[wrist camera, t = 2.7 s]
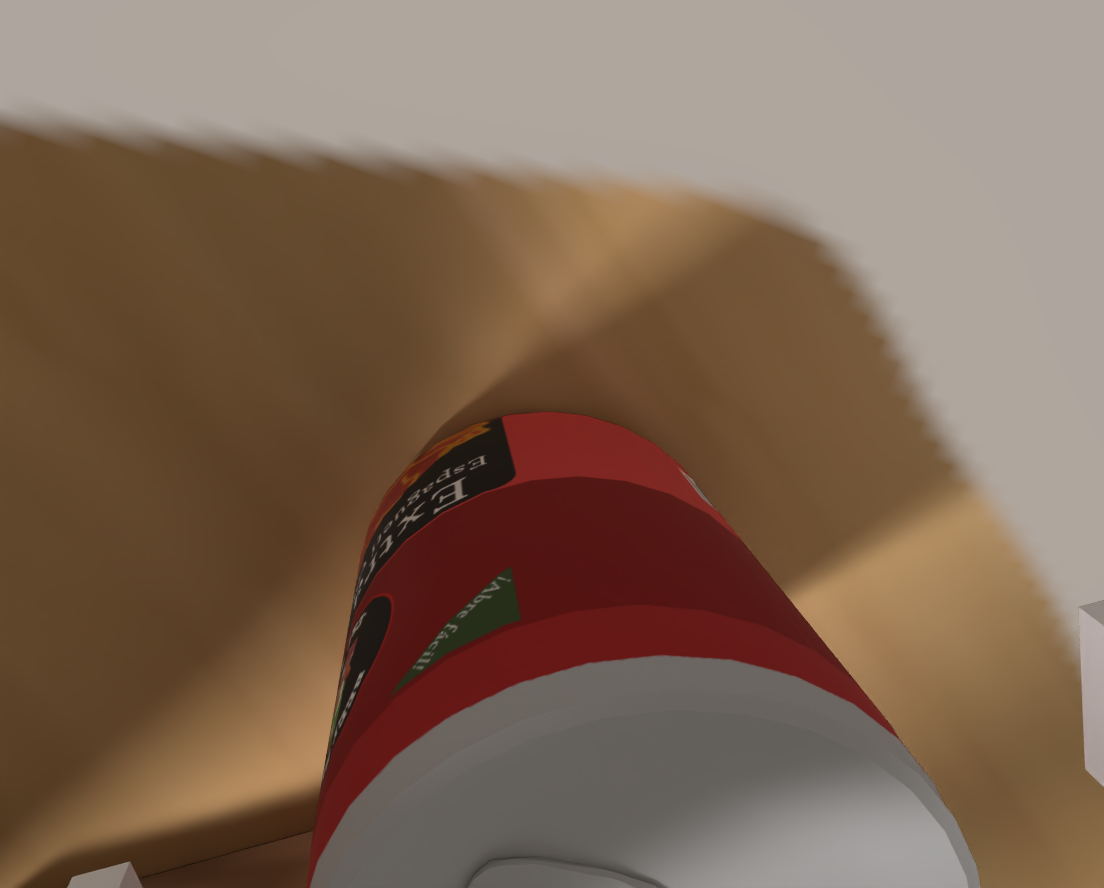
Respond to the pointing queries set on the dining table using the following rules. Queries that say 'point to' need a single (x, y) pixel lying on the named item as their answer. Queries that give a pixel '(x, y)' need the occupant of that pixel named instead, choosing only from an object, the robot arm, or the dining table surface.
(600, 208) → the dining table surface
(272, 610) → the dining table surface
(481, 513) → the canned food
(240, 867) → the plinth
